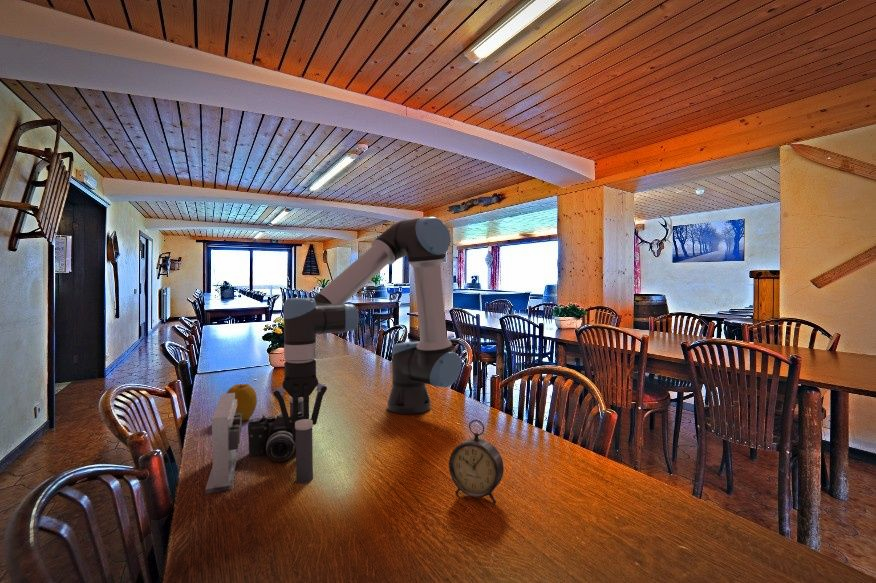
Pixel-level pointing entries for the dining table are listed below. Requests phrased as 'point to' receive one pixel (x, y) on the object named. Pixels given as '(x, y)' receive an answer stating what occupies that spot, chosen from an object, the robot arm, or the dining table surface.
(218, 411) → the breaker panel
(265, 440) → the camera
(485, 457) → the alarm clock
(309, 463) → the post
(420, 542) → the dining table surface
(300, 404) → the post
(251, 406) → the yellow-brown oval body
